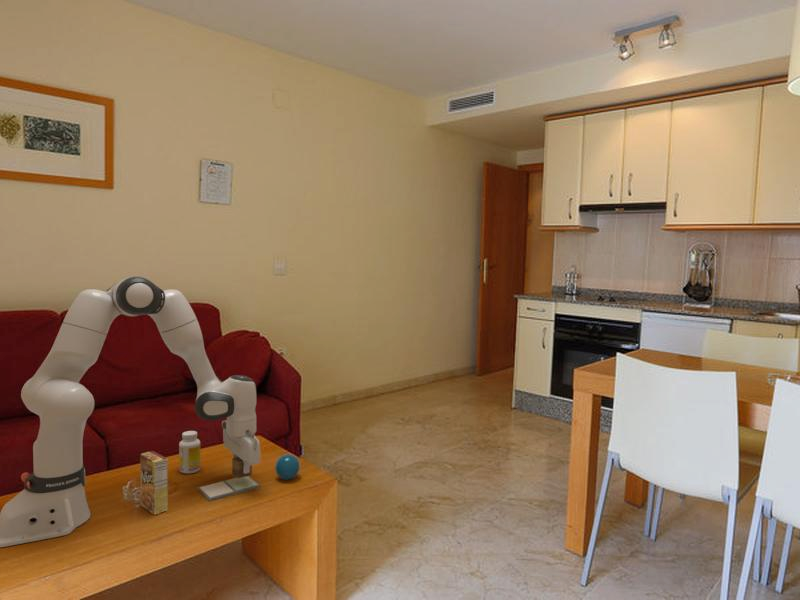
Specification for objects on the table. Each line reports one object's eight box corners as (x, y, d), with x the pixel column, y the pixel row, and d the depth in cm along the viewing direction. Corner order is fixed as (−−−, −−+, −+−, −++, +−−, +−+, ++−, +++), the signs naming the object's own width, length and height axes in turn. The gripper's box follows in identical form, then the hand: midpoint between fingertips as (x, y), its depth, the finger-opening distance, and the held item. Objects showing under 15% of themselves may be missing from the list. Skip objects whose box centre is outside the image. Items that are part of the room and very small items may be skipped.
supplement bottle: (204, 467, 183) (204, 430, 182) (194, 475, 176) (194, 436, 175) (185, 465, 183) (185, 429, 182) (175, 473, 177) (175, 435, 176)
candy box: (139, 505, 154) (139, 453, 153) (154, 500, 157) (153, 450, 156) (154, 515, 148) (153, 462, 147) (169, 510, 152) (168, 457, 150)
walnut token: (238, 478, 166) (238, 462, 166) (232, 473, 170) (232, 458, 169) (251, 475, 169) (251, 459, 169) (245, 470, 172) (245, 455, 172)
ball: (271, 477, 176) (271, 453, 175) (293, 471, 181) (293, 448, 180) (281, 485, 170) (281, 461, 169) (304, 480, 174) (304, 456, 174)
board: (209, 501, 158) (209, 498, 158) (197, 489, 166) (197, 486, 165) (260, 487, 168) (260, 484, 168) (246, 476, 176) (246, 474, 176)
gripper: (266, 433, 162) (265, 478, 163) (238, 417, 178) (238, 457, 179) (246, 438, 158) (246, 483, 159) (219, 420, 174) (219, 461, 175)
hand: (241, 469), depth 169 cm, fingers closed on walnut token, 4 cm apart
